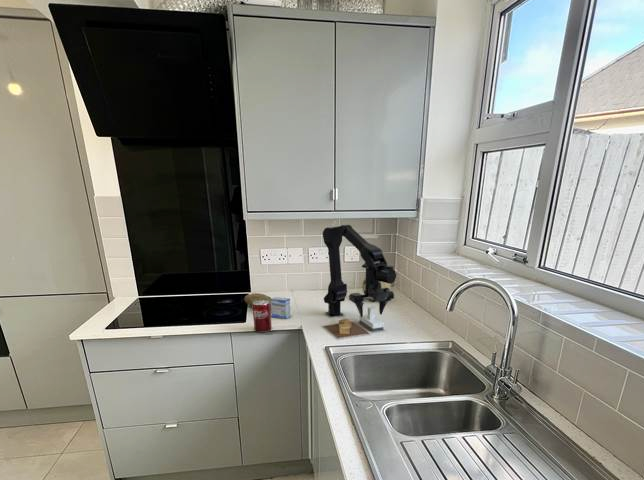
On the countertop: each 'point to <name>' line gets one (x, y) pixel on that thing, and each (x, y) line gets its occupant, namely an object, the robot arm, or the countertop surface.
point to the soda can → (262, 316)
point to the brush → (371, 320)
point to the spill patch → (352, 331)
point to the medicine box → (280, 307)
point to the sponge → (257, 298)
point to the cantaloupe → (383, 285)
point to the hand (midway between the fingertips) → (371, 315)
